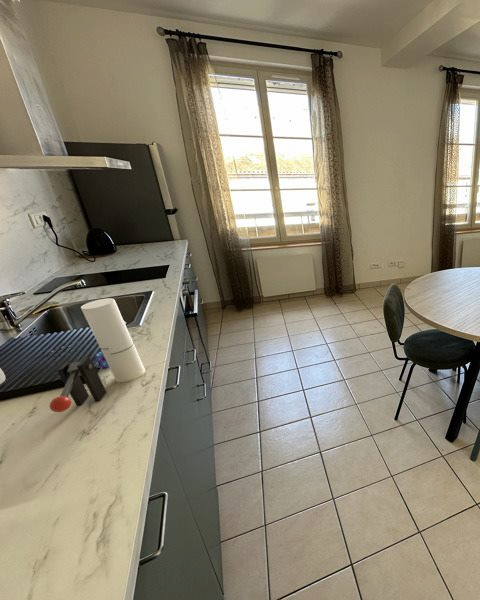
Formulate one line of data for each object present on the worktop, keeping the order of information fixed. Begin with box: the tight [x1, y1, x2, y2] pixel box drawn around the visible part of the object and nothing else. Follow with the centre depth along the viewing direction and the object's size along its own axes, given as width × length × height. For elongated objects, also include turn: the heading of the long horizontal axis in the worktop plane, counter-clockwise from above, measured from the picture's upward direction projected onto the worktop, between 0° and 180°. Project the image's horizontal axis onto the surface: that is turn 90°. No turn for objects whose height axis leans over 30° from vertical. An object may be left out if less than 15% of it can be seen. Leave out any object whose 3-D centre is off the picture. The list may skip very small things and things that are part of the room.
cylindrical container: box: [80, 297, 146, 383], centre depth 95 cm, size 7×7×25 cm
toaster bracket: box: [56, 356, 107, 408], centre depth 87 cm, size 12×9×13 cm
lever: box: [49, 360, 82, 413], centre depth 81 cm, size 14×4×4 cm, turn 22°
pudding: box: [94, 350, 110, 370], centre depth 106 cm, size 12×12×5 cm
